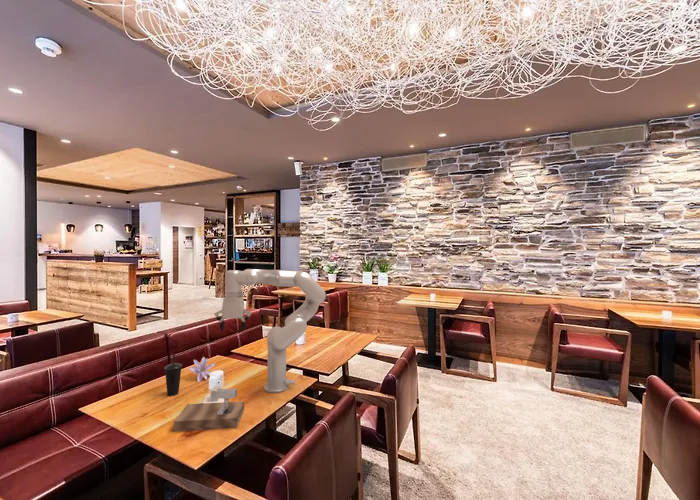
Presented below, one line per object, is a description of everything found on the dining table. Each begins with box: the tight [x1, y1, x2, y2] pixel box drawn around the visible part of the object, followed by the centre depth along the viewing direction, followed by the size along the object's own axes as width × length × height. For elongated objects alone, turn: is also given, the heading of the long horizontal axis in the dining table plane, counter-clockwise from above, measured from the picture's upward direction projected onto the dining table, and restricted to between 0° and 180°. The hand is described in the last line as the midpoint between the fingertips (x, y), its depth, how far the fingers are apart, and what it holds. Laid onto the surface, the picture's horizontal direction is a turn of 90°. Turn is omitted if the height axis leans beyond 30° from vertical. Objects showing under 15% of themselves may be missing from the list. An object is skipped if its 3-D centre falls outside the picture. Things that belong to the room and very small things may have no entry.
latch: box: [216, 388, 238, 414], centre depth 130 cm, size 8×8×8 cm
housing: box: [173, 401, 245, 433], centre depth 132 cm, size 24×14×4 cm, turn 97°
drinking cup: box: [164, 353, 183, 397], centre depth 155 cm, size 8×8×20 cm
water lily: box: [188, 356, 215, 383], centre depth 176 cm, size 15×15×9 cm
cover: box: [202, 385, 224, 403], centre depth 148 cm, size 10×10×6 cm
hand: (232, 329), depth 155 cm, fingers open, 9 cm apart
